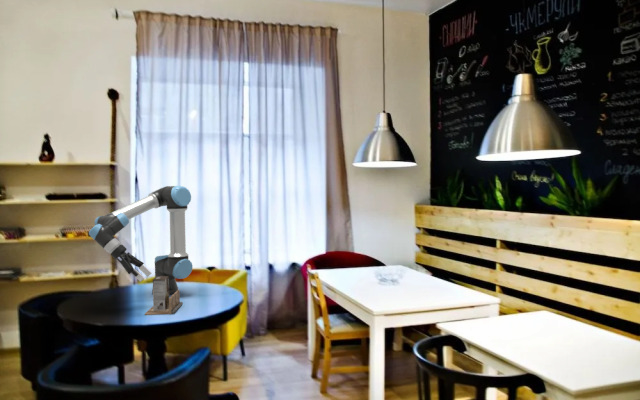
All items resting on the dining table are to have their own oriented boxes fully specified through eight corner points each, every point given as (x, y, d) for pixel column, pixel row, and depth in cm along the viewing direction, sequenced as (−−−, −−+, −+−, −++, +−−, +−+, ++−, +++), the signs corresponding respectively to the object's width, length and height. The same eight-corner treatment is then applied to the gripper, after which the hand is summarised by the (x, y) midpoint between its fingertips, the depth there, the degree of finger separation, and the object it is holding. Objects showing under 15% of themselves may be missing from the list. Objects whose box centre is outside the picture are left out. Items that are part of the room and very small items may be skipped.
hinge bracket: (155, 305, 254) (155, 290, 254) (182, 304, 255) (182, 289, 255) (144, 315, 234) (144, 299, 234) (174, 314, 235) (174, 298, 235)
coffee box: (157, 306, 248) (157, 276, 248) (169, 306, 249) (169, 275, 249) (152, 310, 239) (152, 279, 239) (165, 310, 240) (165, 279, 239)
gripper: (118, 251, 254) (147, 278, 255) (101, 257, 229) (133, 287, 230) (128, 241, 254) (157, 268, 256) (112, 246, 229) (144, 276, 231)
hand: (146, 277), depth 243 cm, fingers open, 13 cm apart
